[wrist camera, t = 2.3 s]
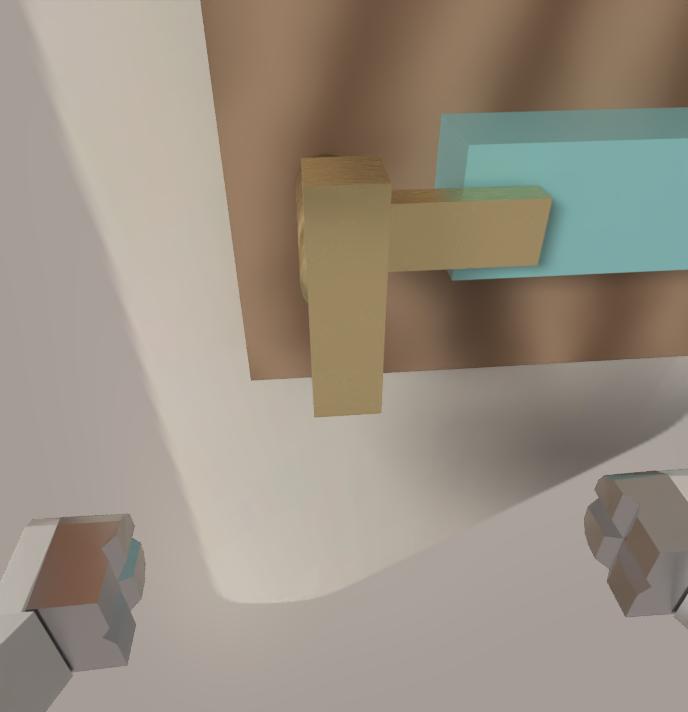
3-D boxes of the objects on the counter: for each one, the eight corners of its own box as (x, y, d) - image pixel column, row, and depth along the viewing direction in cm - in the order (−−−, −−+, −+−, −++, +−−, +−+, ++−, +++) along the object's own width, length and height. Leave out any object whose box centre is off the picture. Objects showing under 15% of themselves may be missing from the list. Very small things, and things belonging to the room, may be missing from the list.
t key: (511, 84, 21) (647, 174, 13) (484, 256, 25) (575, 401, 17) (290, 90, 20) (294, 186, 13) (300, 264, 25) (307, 417, 17)
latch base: (888, -141, 20) (941, -148, 18) (683, 333, 32) (705, 354, 30) (189, -143, 18) (180, -151, 16) (252, 356, 30) (251, 380, 28)
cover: (764, 105, 22) (844, 133, 19) (715, 223, 25) (777, 265, 22) (441, 113, 22) (468, 144, 18) (430, 235, 24) (451, 280, 21)
